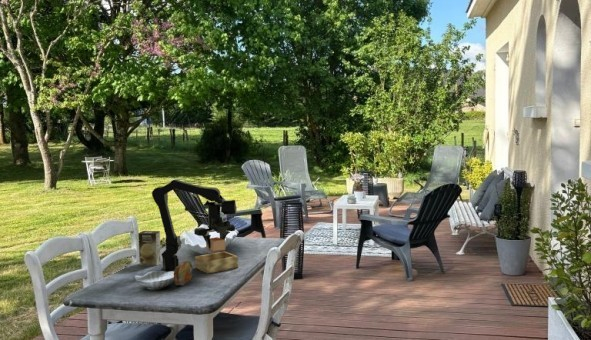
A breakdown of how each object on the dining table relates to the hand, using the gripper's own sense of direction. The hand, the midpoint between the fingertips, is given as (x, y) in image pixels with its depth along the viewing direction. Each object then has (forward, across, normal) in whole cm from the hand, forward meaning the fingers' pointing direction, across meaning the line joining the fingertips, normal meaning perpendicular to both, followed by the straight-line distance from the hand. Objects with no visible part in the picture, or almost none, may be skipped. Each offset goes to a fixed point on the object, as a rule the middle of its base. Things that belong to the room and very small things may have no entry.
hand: (215, 247), depth 261 cm
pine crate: (+10, 0, 0) cm, 10 cm away
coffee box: (+10, -22, +28) cm, 37 cm away
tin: (+10, -22, -12) cm, 27 cm away
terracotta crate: (+1, 0, 0) cm, 1 cm away
